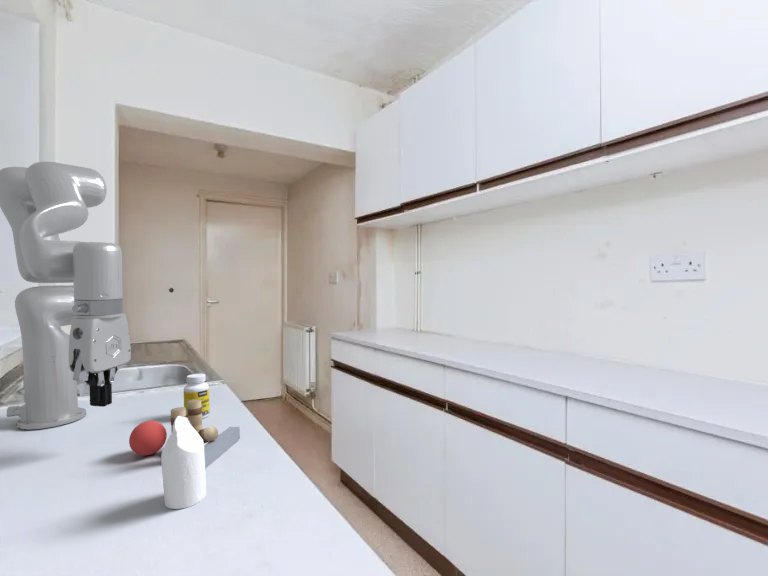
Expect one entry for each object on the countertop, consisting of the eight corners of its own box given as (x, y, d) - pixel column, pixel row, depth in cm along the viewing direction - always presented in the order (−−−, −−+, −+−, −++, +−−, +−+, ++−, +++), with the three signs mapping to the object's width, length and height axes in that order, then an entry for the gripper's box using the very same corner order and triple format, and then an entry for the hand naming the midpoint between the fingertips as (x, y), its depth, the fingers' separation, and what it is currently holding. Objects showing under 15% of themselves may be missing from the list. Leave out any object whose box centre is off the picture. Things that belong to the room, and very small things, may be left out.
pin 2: (187, 451, 76) (185, 403, 76) (190, 446, 79) (188, 399, 78) (202, 449, 77) (200, 402, 77) (204, 444, 79) (202, 398, 79)
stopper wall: (189, 472, 68) (188, 457, 68) (230, 439, 82) (229, 426, 82) (200, 472, 68) (199, 457, 67) (239, 439, 81) (239, 426, 81)
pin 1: (170, 463, 71) (168, 412, 71) (174, 457, 74) (172, 407, 73) (186, 461, 72) (184, 410, 72) (189, 455, 74) (187, 406, 74)
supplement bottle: (200, 421, 93) (198, 378, 93) (179, 420, 94) (177, 377, 94) (214, 413, 98) (213, 372, 98) (194, 412, 99) (193, 372, 99)
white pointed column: (193, 422, 56) (151, 424, 56) (197, 508, 57) (155, 511, 56) (209, 408, 62) (170, 410, 62) (212, 486, 63) (174, 489, 62)
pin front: (164, 447, 74) (207, 432, 73) (170, 437, 76) (213, 422, 75) (171, 457, 75) (214, 442, 74) (178, 447, 77) (219, 432, 76)
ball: (147, 440, 71) (134, 467, 72) (178, 431, 76) (165, 456, 78) (129, 418, 73) (117, 444, 75) (160, 411, 79) (149, 435, 80)
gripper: (83, 314, 69) (86, 421, 70) (145, 305, 84) (146, 393, 85) (43, 312, 70) (46, 418, 71) (111, 304, 85) (113, 391, 86)
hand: (101, 404), depth 78 cm, fingers closed
